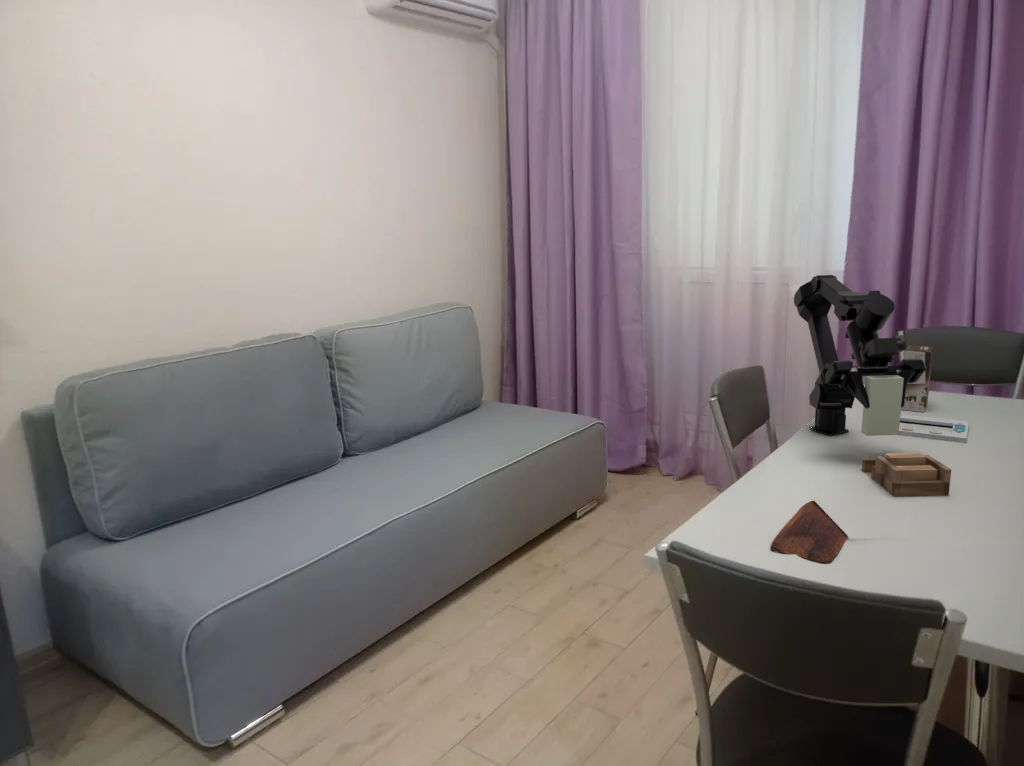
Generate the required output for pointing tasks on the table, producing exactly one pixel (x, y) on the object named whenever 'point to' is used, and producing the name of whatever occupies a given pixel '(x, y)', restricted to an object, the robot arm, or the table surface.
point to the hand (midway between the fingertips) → (885, 407)
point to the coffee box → (918, 390)
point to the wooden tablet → (810, 535)
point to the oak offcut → (906, 459)
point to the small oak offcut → (918, 473)
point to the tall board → (882, 405)
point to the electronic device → (956, 435)
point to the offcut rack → (892, 483)
